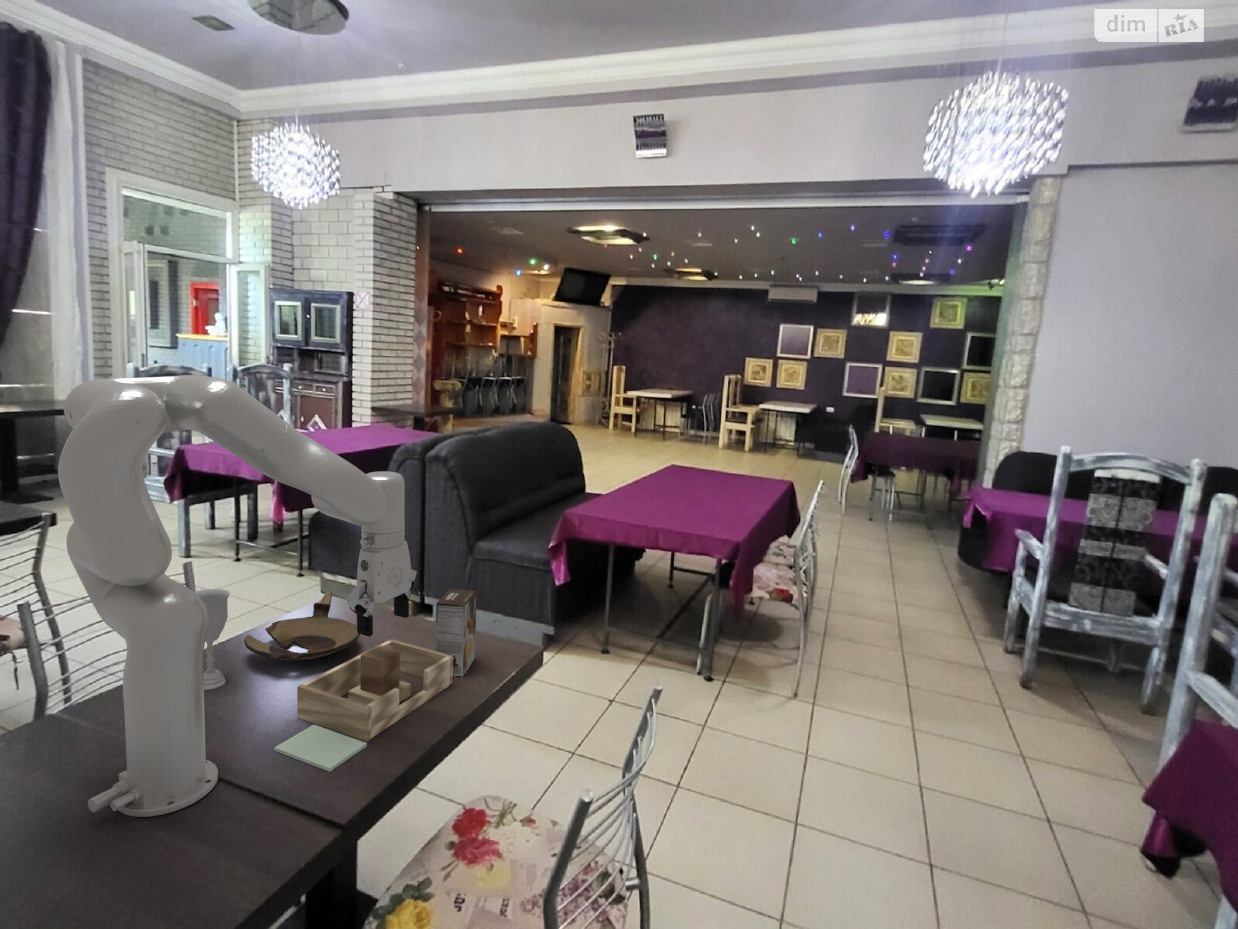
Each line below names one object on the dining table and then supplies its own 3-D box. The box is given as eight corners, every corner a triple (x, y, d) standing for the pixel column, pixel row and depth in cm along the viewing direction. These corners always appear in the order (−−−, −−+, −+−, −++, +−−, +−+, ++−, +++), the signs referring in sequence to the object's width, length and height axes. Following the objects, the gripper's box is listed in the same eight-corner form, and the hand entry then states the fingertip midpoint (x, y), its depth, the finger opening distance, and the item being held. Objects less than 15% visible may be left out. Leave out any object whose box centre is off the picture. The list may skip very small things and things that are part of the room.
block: (381, 696, 122) (381, 661, 121) (360, 689, 124) (360, 655, 123) (399, 685, 127) (400, 651, 126) (379, 679, 129) (379, 645, 128)
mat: (329, 772, 103) (329, 768, 103) (274, 750, 108) (274, 747, 108) (366, 746, 111) (366, 743, 111) (313, 727, 115) (313, 724, 115)
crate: (366, 741, 112) (366, 709, 111) (297, 717, 118) (297, 686, 117) (452, 683, 134) (453, 656, 133) (390, 665, 140) (391, 639, 139)
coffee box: (447, 656, 146) (449, 587, 144) (475, 659, 146) (477, 590, 144) (433, 675, 137) (435, 602, 135) (463, 678, 137) (466, 604, 134)
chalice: (240, 677, 131) (238, 591, 128) (215, 693, 124) (213, 603, 121) (205, 673, 131) (203, 587, 129) (179, 689, 125) (177, 599, 122)
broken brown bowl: (216, 670, 133) (215, 634, 132) (313, 618, 162) (313, 588, 161) (312, 688, 129) (312, 651, 128) (394, 631, 158) (395, 600, 157)
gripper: (364, 553, 112) (365, 647, 115) (429, 530, 128) (429, 613, 131) (331, 546, 115) (333, 638, 118) (399, 525, 131) (399, 606, 134)
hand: (383, 625), depth 124 cm, fingers open, 9 cm apart
